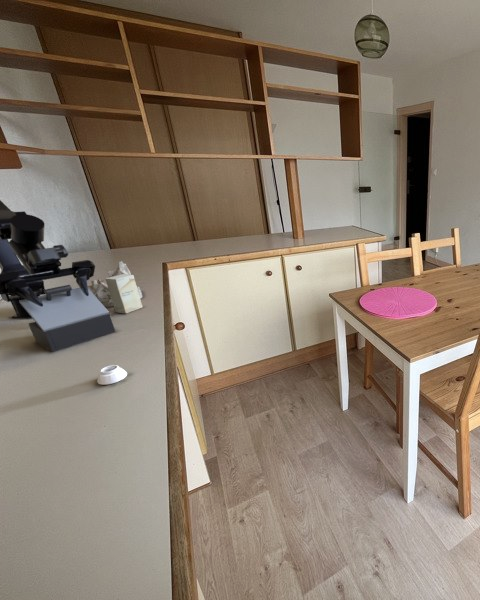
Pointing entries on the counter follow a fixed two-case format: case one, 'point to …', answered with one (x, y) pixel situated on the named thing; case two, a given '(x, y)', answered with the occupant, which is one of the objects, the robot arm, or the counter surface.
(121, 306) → the cosmetic box
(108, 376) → the upturned white bowl
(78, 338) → the sloped grey box
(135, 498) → the counter surface
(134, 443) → the counter surface
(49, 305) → the bread lid
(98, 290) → the beige crumpled lump
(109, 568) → the counter surface
